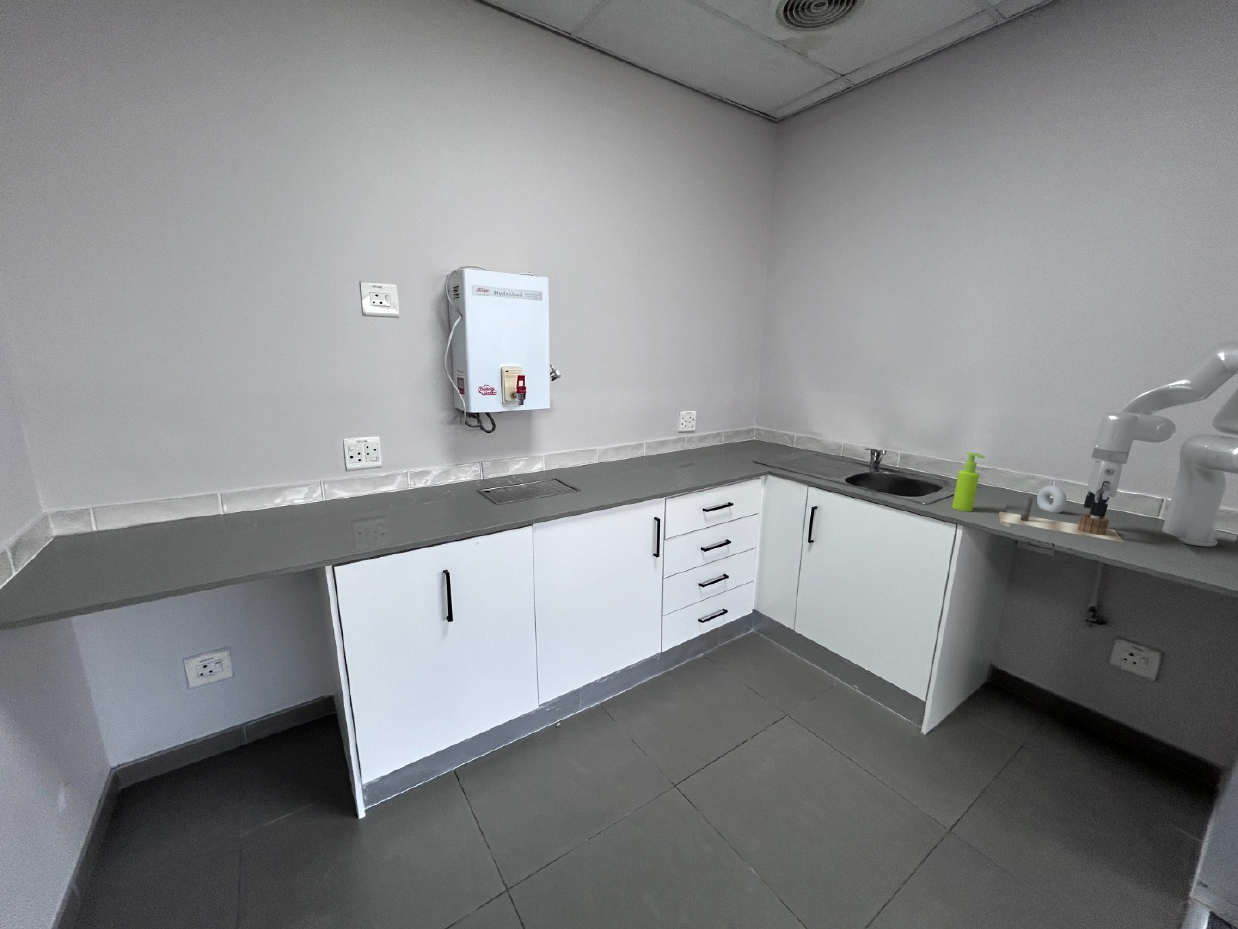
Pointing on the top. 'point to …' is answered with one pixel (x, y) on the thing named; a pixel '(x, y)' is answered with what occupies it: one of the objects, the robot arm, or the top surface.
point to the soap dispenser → (966, 485)
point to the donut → (1058, 499)
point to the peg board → (1049, 522)
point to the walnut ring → (1093, 524)
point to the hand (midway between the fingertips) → (1093, 512)
